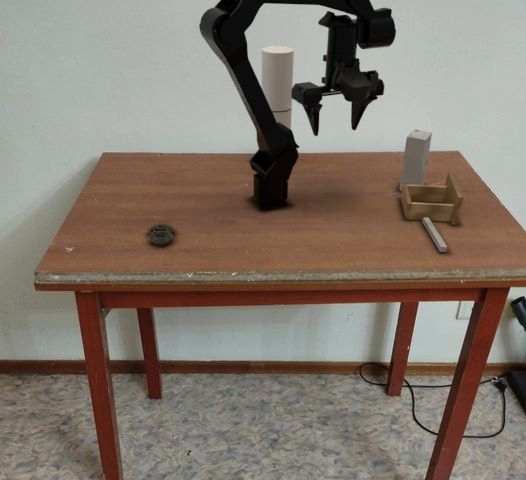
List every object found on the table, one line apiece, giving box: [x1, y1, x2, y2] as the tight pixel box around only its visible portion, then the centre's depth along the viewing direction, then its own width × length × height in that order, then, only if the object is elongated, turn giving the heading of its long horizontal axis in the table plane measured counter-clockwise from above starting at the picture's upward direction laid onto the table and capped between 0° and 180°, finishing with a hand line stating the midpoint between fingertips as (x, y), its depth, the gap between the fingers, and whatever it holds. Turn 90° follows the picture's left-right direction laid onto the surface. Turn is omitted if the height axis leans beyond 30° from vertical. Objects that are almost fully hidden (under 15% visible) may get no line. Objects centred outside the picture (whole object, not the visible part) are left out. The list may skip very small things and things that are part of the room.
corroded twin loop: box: [147, 223, 175, 246], centre depth 114 cm, size 5×8×1 cm, turn 8°
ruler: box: [421, 217, 448, 253], centre depth 115 cm, size 12×1×1 cm, turn 4°
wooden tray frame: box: [400, 171, 464, 226], centre depth 123 cm, size 10×13×6 cm
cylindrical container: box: [261, 45, 295, 130], centre depth 139 cm, size 7×7×25 cm
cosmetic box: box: [399, 129, 433, 192], centre depth 130 cm, size 6×4×12 cm
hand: (334, 132), depth 124 cm, fingers open, 9 cm apart
